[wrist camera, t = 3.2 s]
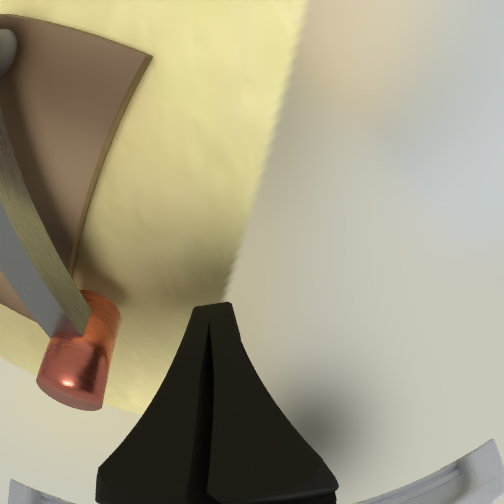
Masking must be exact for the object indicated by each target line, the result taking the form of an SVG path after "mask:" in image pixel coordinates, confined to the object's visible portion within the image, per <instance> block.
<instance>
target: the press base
mask: <svg viewBox="0 0 504 504" xmlns="http://www.w3.org/2000/svg"><path fill="white" fill-rule="evenodd" d="M152 57H153V56H151V55H148V54H146V53H143V52H141V51H138V50H136V49H133V48H131V47H128V46H125V45H123V44H120V43H117V42H114V41H111V40H109V39H106V38H103V37H100V36H97V35H94V34H90V33H87V32H84V31H81V30H77V29H74V28H70V27H66V26H63V25H59V24H55V23H51V22H47V21H42V20H38V19H33V18H28V17H23V16H17V15H11V14H0V107H1V111H2V115H3V119H4V123H5V126H6V130H7V133H8V136H9V140H10V143H11V146H12V149H13V152H14V155H15V158H16V161H17V164H18V166H19V169H20V172H21V174H22V177H23V180H24V182H25V185H26V187H27V190H28V192H29V194H30V197H31V199H32V201H33V204H34V206H35V208H36V210H37V213H38V215H39V217H40V219H41V221H42V223H43V225H44V227H45V230H46V232H47V234H48V236H49V238H50V239H51V241H52V243H53V245H54V247H55V249H56V251H57V253H58V255H59V257H60V258H61V260H62V262H63V264H64V266H65V267H66V269H67V271H68V273H69V274H70V276H72V271H73V266H74V261H75V257H76V252H77V248H78V244H79V240H80V236H81V232H82V228H83V224H84V221H85V217H86V214H87V210H88V207H89V204H90V200H91V197H92V194H93V191H94V188H95V185H96V182H97V179H98V176H99V173H100V170H101V168H102V165H103V162H104V159H105V157H106V154H107V152H108V149H109V146H110V144H111V141H112V139H113V137H114V134H115V132H116V129H117V127H118V125H119V123H120V120H121V118H122V116H123V114H124V111H125V109H126V107H127V105H128V103H129V101H130V99H131V97H132V95H133V93H134V91H135V89H136V87H137V85H138V83H139V81H140V79H141V77H142V75H143V73H144V71H145V70H146V68H147V66H148V64H149V62H150V61H151V59H152ZM0 303H1V304H3V305H5V306H6V307H8V308H10V309H12V310H14V311H16V312H17V313H19V314H21V315H23V316H25V317H27V318H29V319H31V320H33V321H35V322H37V321H36V320H35V319H34V317H33V316H32V315H31V313H30V312H29V311H28V309H27V308H26V307H25V305H24V304H23V302H22V301H21V300H20V298H19V297H18V295H17V294H16V292H15V291H14V289H13V288H12V286H11V285H10V283H9V282H8V280H7V279H6V277H5V276H4V274H3V272H2V271H1V269H0ZM37 323H38V322H37Z"/></svg>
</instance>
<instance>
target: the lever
mask: <svg viewBox="0 0 504 504" xmlns="http://www.w3.org/2000/svg"><path fill="white" fill-rule="evenodd" d="M0 269H1V271H2V272H3V274H4V276H5V277H6V279H7V280H8V282H9V283H10V285H11V286H12V288H13V289H14V291H15V292H16V294H17V295H18V297H19V298H20V300H21V301H22V302H23V304H24V305H25V307H26V308H27V309H28V311H29V312H30V313H31V315H32V316H33V317H34V319H35V320H36V321H37V322H38V324H39V325H40V326H41V327H42V329H43V330H44V331H45V332H46V334H47V335H48V336H49V337H50V338H51V339H50V342H49V344H48V347H47V350H46V352H45V355H44V358H43V361H42V364H41V367H40V370H39V373H38V376H37V380H36V381H37V384H38V386H39V387H40V389H41V390H42V391H44V392H45V393H46V394H47V395H48V396H50V397H51V398H53V399H55V400H56V401H58V402H60V403H62V404H65V405H67V406H70V407H73V408H76V409H80V410H87V411H95V410H99V409H101V408H102V404H103V399H104V393H105V388H106V383H107V378H108V373H109V368H110V363H111V359H112V354H113V350H114V346H115V341H116V337H117V333H118V329H119V325H120V321H121V316H120V313H119V311H118V309H117V307H116V306H115V305H114V304H113V303H112V302H111V301H110V300H109V299H107V298H106V297H104V296H102V295H100V294H98V293H95V292H92V291H87V290H79V289H78V288H77V286H76V284H75V283H74V281H73V279H72V278H71V276H70V274H69V273H68V271H67V269H66V267H65V266H64V264H63V262H62V260H61V258H60V257H59V255H58V253H57V251H56V249H55V247H54V245H53V243H52V241H51V239H50V238H49V236H48V234H47V232H46V230H45V227H44V225H43V223H42V221H41V219H40V217H39V215H38V213H37V210H36V208H35V206H34V204H33V201H32V199H31V197H30V194H29V192H28V190H27V187H26V185H25V182H24V180H23V177H22V174H21V172H20V169H19V166H18V164H17V161H16V158H15V155H14V152H13V149H12V146H11V143H10V140H9V136H8V133H7V130H6V126H5V123H4V119H3V115H2V111H1V107H0Z"/></svg>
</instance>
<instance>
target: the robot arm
mask: <svg viewBox="0 0 504 504" xmlns="http://www.w3.org/2000/svg"><path fill="white" fill-rule="evenodd" d="M338 487H339V485H338V482H337V480H336V478H335V476H334V475H333V474H332V472H331V471H330V470H329V468H328V467H327V465H326V464H325V463H324V461H323V459H322V458H321V457H320V456H319V455H318V454H317V453H316V452H315V451H314V450H313V448H312V447H311V446H310V445H309V444H308V443H307V442H306V441H305V440H304V439H303V437H302V436H301V435H300V434H299V433H298V432H297V430H296V429H295V428H294V427H293V426H292V424H291V423H290V422H289V420H288V419H287V418H286V416H285V415H284V414H283V413H282V411H281V410H280V408H279V407H278V406H277V404H276V403H275V401H274V400H273V399H272V397H271V395H270V394H269V392H268V391H267V389H266V388H265V386H264V385H263V383H262V381H261V380H260V378H259V376H258V375H257V373H256V371H255V369H254V367H253V365H252V363H251V361H250V359H249V357H248V355H247V353H246V351H245V349H244V346H243V344H242V342H241V338H240V333H239V329H238V325H237V322H236V318H235V314H234V311H233V307H232V304H231V303H229V302H223V303H217V304H210V305H203V306H196V307H195V308H194V309H193V311H192V314H191V317H190V320H189V323H188V326H187V329H186V331H185V334H184V336H183V339H182V341H181V344H180V346H179V348H178V351H177V353H176V356H175V358H174V360H173V362H172V364H171V366H170V368H169V370H168V372H167V374H166V377H165V378H164V380H163V382H162V384H161V386H160V388H159V390H158V391H157V393H156V395H155V396H154V398H153V400H152V402H151V403H150V405H149V406H148V408H147V409H146V411H145V412H144V414H143V415H142V417H141V418H140V420H139V421H138V423H137V424H136V425H135V427H134V428H133V429H132V430H131V432H130V433H129V434H128V435H127V437H126V438H125V439H124V441H123V442H122V443H121V444H120V445H119V447H118V448H117V449H116V450H115V451H114V452H113V453H112V454H111V455H110V456H109V458H107V459H106V461H105V462H104V463H103V464H102V465H101V466H100V467H99V468H98V473H97V480H96V497H95V498H96V499H95V500H96V502H97V503H99V504H336V495H335V491H336V490H337V489H338ZM502 495H504V466H503V464H502V460H501V457H500V454H499V452H498V449H497V446H496V443H495V441H494V439H491V440H489V441H488V442H486V443H485V444H483V445H481V446H480V447H478V448H477V449H475V450H473V451H472V452H470V453H468V454H467V455H465V456H463V457H461V458H460V459H458V460H456V461H454V462H452V463H450V464H449V465H447V466H445V467H443V468H441V469H440V470H439V471H436V472H434V473H432V474H430V475H428V476H426V477H424V478H422V479H420V480H417V481H415V482H413V483H410V484H408V485H406V486H403V487H401V488H398V489H395V490H393V491H390V492H388V493H385V494H382V495H379V496H377V497H373V498H370V499H367V500H364V501H361V502H358V503H354V504H492V503H493V502H494V501H496V500H497V499H498V498H500V497H501V496H502ZM8 504H74V503H71V502H68V501H65V500H62V499H60V498H57V497H54V496H52V495H49V494H46V493H43V492H41V491H38V490H35V489H33V488H30V487H28V486H26V485H23V484H21V483H19V482H17V481H15V480H12V479H11V480H10V487H9V499H8Z"/></svg>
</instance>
